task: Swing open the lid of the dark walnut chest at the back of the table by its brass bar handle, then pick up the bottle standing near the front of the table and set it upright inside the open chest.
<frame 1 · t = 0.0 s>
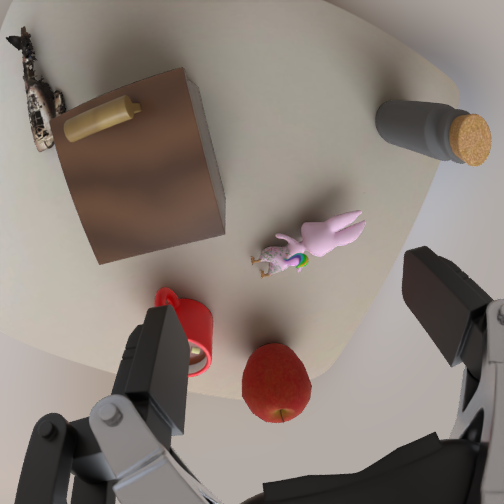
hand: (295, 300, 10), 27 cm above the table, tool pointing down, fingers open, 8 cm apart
apple: (269, 351, 47), on the table
bottle: (394, 122, 32), on the table
pink creature figurine: (304, 236, 39), on the table
lid: (124, 178, 21), point 12 cm above the table, hinge at 0.0°
chest: (159, 157, 32), on the table
airplane wreck: (48, 82, 26), on the table
mug: (180, 308, 42), on the table
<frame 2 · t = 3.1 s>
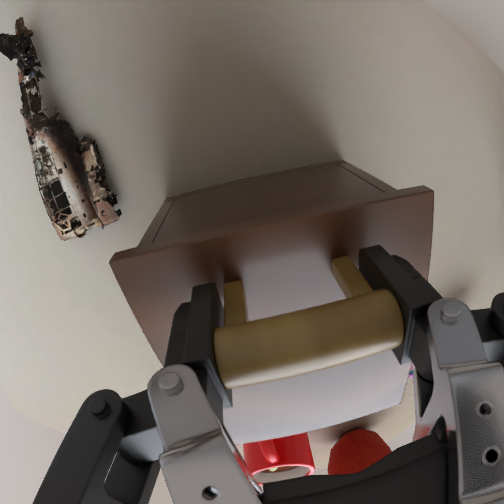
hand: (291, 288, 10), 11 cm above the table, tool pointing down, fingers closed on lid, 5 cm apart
apple: (351, 433, 38), on the table
lid: (310, 393, 12), point 12 cm above the table, hinge at 0.0°, touching gripper
chest: (273, 263, 23), on the table
airplane wreck: (68, 118, 17), on the table
mug: (268, 414, 33), on the table
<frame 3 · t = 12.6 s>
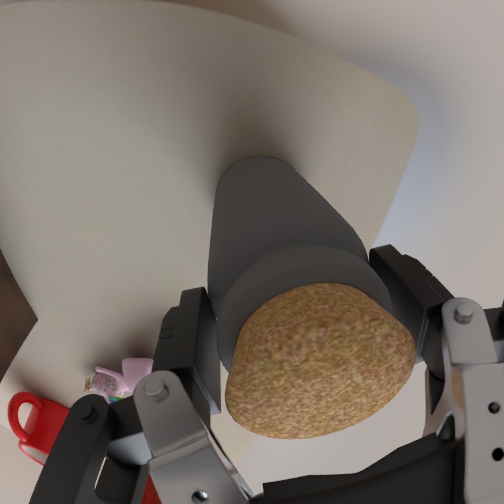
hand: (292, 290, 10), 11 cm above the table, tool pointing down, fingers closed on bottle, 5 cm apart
apple: (153, 450, 35), on the table
bottle: (259, 197, 20), on the table, touching gripper
pink creature figurine: (141, 364, 26), on the table
mug: (49, 405, 30), on the table
when the fingers open (11 cm above the table, at t = 20.9 s): bottle stays where it is, resting on chest.
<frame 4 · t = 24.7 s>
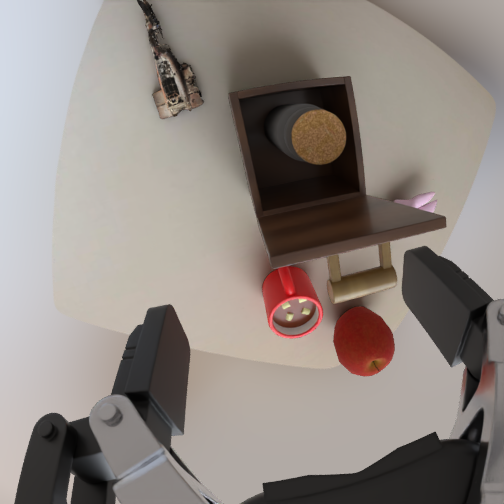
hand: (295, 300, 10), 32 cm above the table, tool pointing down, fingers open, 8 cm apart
apple: (350, 316, 53), on the table
bottle: (285, 126, 36), point 1 cm above the table, touching chest
pink creature figurine: (391, 212, 44), on the table
lid: (339, 244, 25), point 18 cm above the table, hinge at 78.4°
chest: (286, 137, 38), on the table
airplane wreck: (172, 54, 31), on the table
mug: (283, 276, 47), on the table
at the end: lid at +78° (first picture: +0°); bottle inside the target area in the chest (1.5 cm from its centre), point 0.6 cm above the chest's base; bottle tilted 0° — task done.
